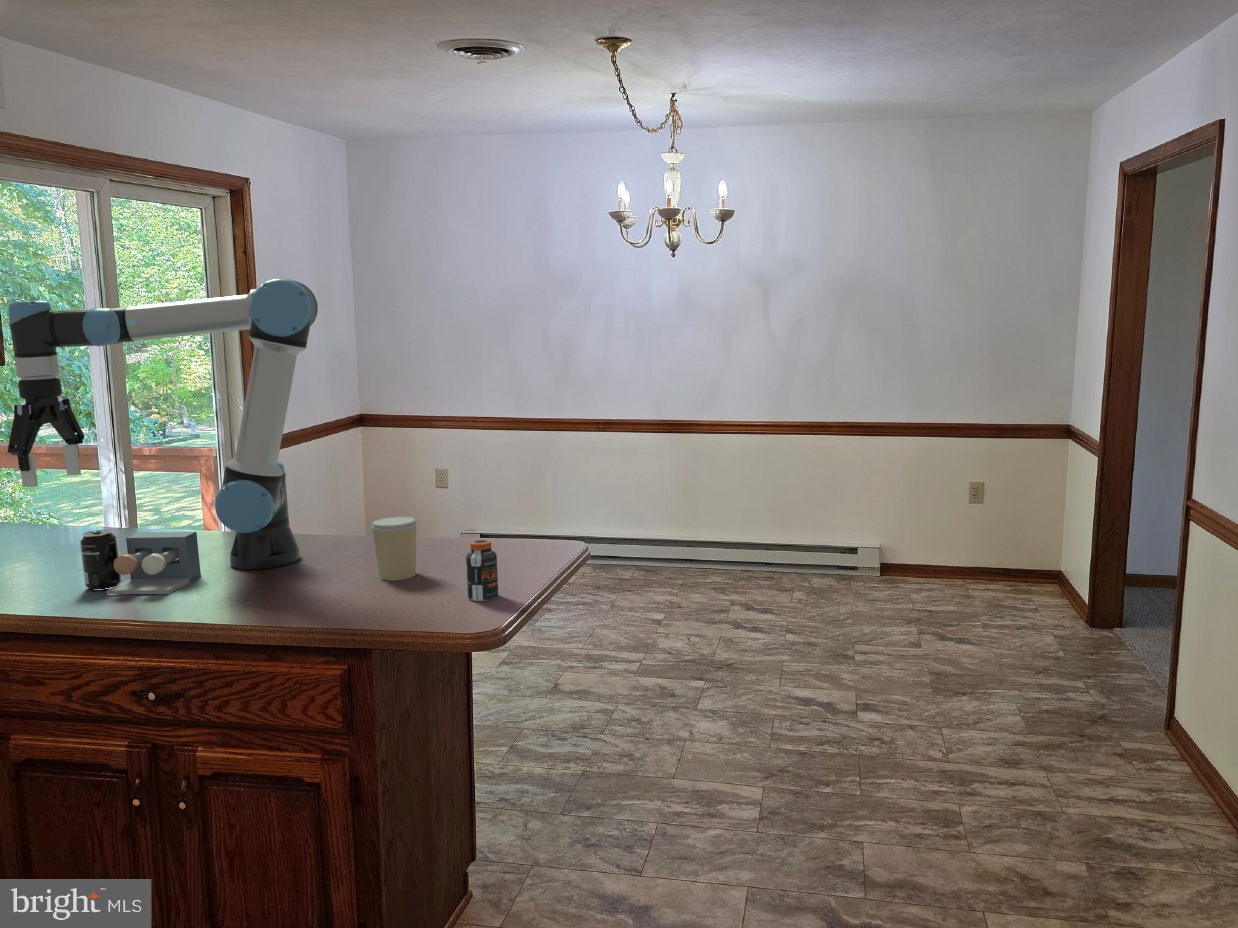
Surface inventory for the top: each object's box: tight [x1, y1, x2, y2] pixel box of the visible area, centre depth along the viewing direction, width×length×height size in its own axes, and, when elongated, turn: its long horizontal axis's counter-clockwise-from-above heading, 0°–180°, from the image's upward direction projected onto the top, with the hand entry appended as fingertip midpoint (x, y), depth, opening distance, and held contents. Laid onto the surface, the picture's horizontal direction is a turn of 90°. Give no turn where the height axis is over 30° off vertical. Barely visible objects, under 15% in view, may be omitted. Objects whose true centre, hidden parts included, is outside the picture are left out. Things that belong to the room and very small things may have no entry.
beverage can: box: [79, 528, 122, 590], centre depth 208 cm, size 7×7×12 cm
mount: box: [106, 531, 202, 595], centre depth 208 cm, size 13×14×10 cm
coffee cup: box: [371, 516, 417, 582], centre depth 209 cm, size 9×9×12 cm
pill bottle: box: [465, 539, 499, 602], centre depth 191 cm, size 6×6×11 cm
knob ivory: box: [142, 547, 179, 575], centre depth 208 cm, size 4×13×4 cm, turn 177°
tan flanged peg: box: [114, 548, 152, 576], centre depth 208 cm, size 4×13×4 cm, turn 176°
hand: (53, 480), depth 203 cm, fingers open, 13 cm apart
